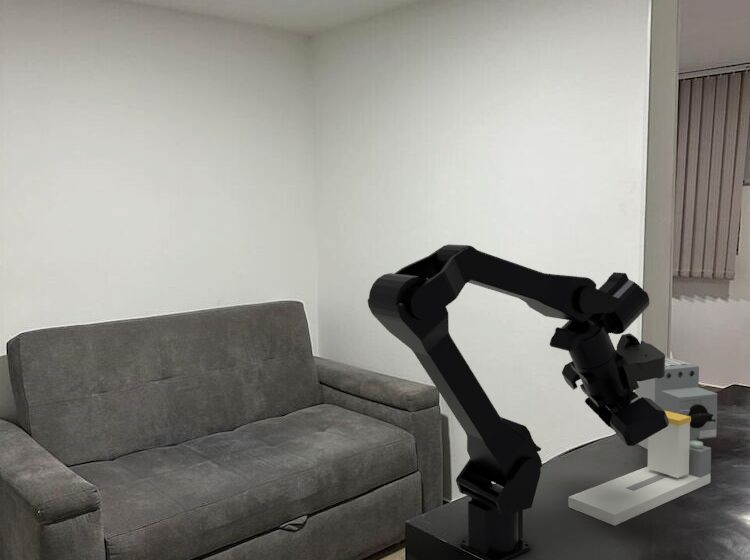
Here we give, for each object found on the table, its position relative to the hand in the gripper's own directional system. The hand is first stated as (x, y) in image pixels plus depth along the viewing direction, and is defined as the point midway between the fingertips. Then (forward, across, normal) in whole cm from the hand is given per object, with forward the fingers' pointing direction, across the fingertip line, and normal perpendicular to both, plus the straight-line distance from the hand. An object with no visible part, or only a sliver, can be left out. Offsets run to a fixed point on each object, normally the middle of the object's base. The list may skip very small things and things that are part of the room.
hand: (629, 438), depth 100 cm
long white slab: (+10, -1, +2) cm, 10 cm away
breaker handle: (+11, +2, -4) cm, 12 cm away
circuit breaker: (+21, +14, -10) cm, 27 cm away
